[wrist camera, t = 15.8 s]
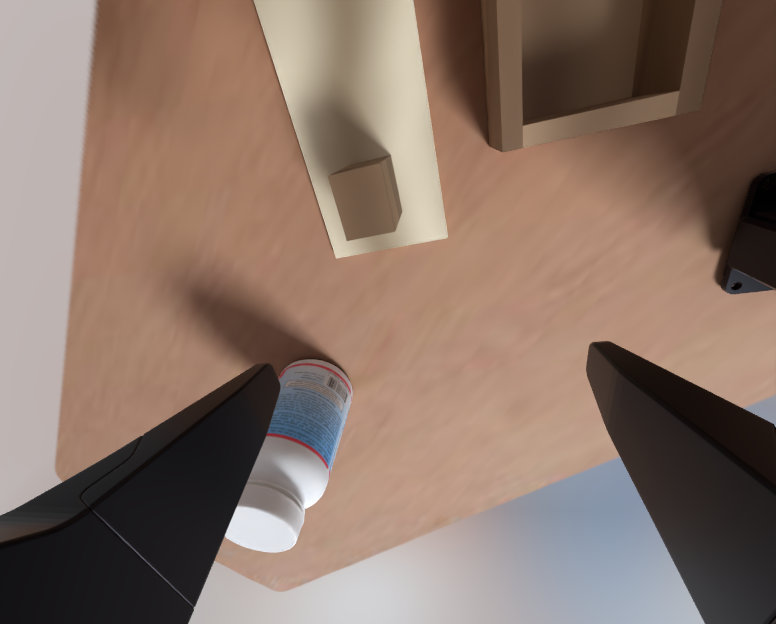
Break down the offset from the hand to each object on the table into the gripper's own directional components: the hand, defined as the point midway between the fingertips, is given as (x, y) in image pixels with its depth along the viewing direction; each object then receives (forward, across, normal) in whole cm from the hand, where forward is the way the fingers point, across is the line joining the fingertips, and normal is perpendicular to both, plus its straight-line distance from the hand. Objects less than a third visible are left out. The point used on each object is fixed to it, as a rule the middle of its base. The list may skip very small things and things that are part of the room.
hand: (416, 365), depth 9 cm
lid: (+13, +3, -7) cm, 15 cm away
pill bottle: (+12, +10, +11) cm, 20 cm away
